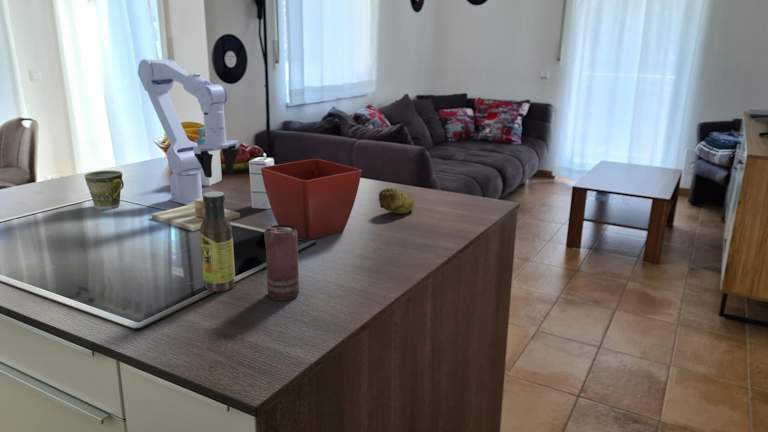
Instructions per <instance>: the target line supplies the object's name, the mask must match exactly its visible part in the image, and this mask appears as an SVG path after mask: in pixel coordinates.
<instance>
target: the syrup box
mask: <svg viewBox="0 0 768 432" xmlns="http://www.w3.org/2000/svg"><path fill="white" fill-rule="evenodd" d="M273 165H275V159H274V157H265V156H264V157H263V156H262V157H259V156H258V157H256V158H254V159H251V160H249V161H248V170H249V184H250V185H249V186H250V198H251V208H253V209H259V210H261V209H262V210H263V209H264V210H270V209H271V206H270V203H269V200H268V197H267V194H266V190H265V186H264V182H263V177H262V172H261V168H262V167H266V166H273Z"/></svg>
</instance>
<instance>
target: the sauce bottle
mask: <svg viewBox="0 0 768 432" xmlns="http://www.w3.org/2000/svg"><path fill="white" fill-rule="evenodd" d="M202 197H203V202H204V205H205V219H204V221H203V222H202V224H201V227H200V229H199V239H200V253H201V265H202V279H203V281H204V283H203V285H204V288H205V289H206V290H208V291H211V292H217V293H219V292H226V291H229V290H231V289H234V286H235V282H236V280H235V279H236V271H235V270H236V269H235V255H234V253H235V252H234V239H233V233H232V232H233V231H232V230H233V229H232V224H231V222H230V220H229V221H228V219H227V218H226V217H225V211H224V209H225V200H226V197H225V194H224V192H222V191H208V192H205V193H202Z"/></svg>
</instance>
